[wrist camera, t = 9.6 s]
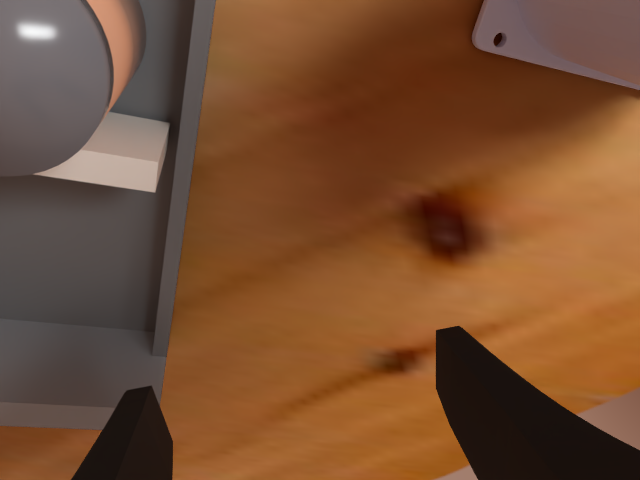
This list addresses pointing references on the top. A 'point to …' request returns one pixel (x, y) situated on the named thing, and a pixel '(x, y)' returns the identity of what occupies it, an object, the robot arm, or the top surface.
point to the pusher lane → (102, 251)
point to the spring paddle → (119, 154)
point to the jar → (62, 75)
